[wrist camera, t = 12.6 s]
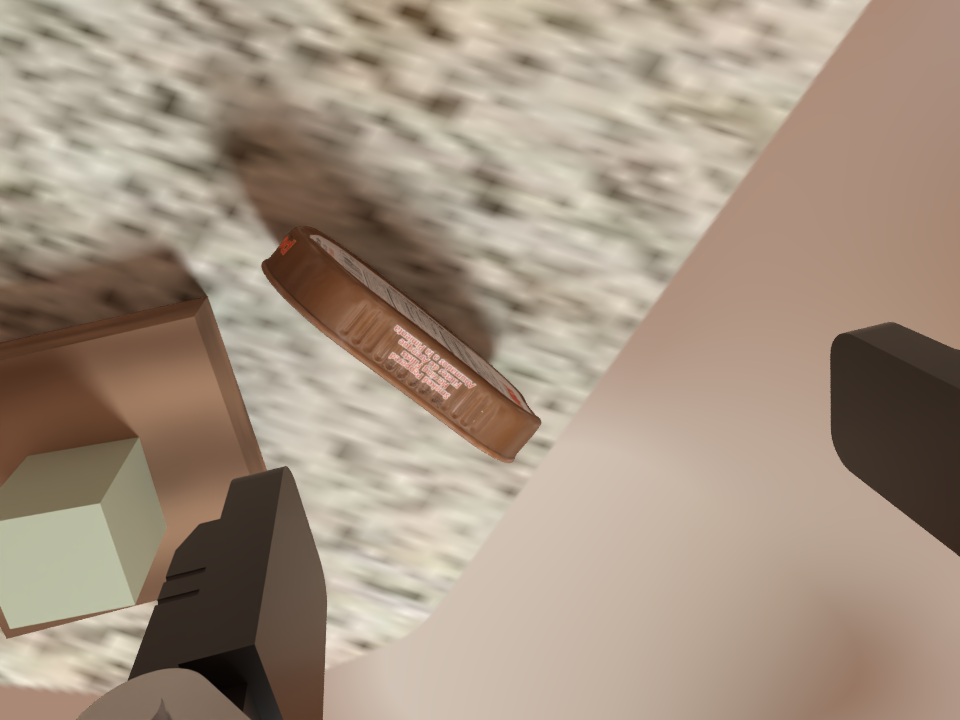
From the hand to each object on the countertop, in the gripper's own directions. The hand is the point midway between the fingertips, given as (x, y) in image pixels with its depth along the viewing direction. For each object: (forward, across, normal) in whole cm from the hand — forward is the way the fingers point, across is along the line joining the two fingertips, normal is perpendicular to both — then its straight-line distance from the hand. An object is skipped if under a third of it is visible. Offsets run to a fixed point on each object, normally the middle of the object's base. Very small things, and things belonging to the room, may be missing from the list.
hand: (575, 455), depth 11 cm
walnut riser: (+29, +18, +10) cm, 35 cm away
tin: (+28, +2, +6) cm, 29 cm away
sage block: (+25, +18, +10) cm, 32 cm away
